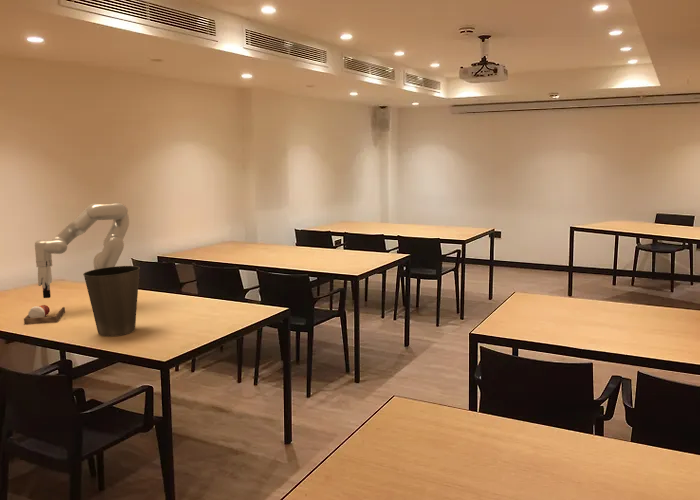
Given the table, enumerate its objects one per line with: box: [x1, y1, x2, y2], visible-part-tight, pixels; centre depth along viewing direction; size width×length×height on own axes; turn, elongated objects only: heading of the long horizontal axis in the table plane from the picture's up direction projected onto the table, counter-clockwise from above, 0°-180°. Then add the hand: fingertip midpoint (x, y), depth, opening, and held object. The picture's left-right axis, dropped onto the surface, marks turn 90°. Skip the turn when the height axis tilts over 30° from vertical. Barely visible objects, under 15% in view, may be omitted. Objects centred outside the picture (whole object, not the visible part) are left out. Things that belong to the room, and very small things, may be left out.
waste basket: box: [83, 265, 141, 337], centre depth 286 cm, size 27×20×30 cm
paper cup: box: [27, 304, 51, 318], centre depth 313 cm, size 8×8×14 cm
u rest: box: [23, 306, 66, 325], centre depth 314 cm, size 15×21×3 cm
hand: (47, 297), depth 319 cm, fingers closed
